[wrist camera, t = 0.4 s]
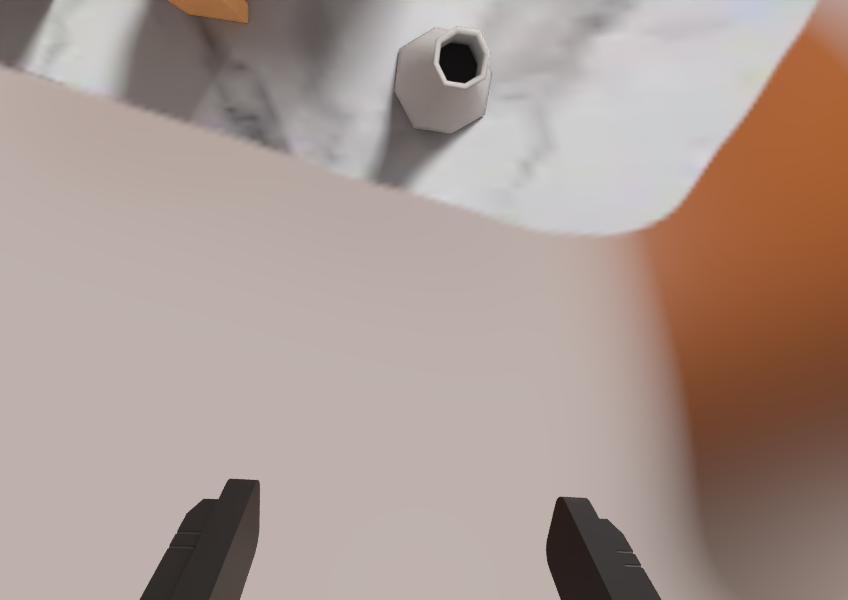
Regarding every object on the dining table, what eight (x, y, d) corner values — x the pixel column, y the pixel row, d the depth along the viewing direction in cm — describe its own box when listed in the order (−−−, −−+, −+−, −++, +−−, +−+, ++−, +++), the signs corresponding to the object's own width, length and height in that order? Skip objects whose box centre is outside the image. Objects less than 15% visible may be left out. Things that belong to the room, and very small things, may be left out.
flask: (403, 142, 37) (408, 140, 28) (384, 38, 35) (382, -5, 25) (497, 125, 37) (534, 116, 28) (484, 19, 35) (519, -30, 25)
